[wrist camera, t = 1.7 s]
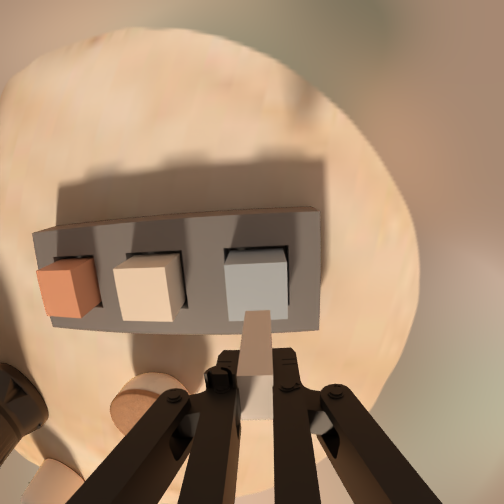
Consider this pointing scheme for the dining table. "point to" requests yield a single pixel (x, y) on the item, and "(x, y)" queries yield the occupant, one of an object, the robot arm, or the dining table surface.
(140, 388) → the lidded jar
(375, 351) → the dining table surface
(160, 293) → the key ivory
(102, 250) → the console
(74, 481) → the can
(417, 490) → the robot arm
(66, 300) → the key terracotta
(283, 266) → the grey cube
